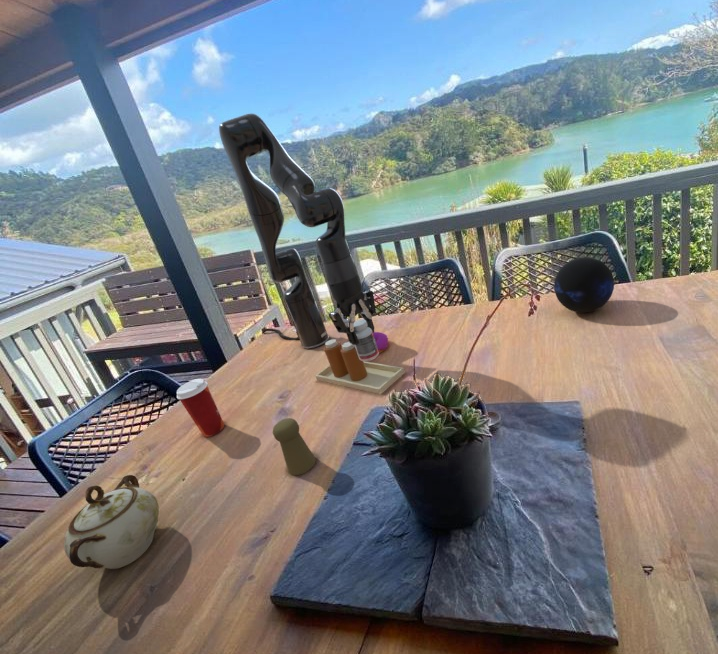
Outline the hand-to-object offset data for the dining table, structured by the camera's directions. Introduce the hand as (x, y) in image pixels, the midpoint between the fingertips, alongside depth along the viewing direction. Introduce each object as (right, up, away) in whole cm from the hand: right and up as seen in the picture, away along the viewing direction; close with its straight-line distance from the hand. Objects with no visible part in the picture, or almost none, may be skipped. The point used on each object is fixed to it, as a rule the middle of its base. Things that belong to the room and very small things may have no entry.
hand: (363, 338), depth 110 cm
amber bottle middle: (-2, -11, +9) cm, 14 cm away
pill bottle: (+1, -5, +2) cm, 6 cm away
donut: (+1, -4, +23) cm, 24 cm away
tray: (-2, -11, +10) cm, 15 cm away
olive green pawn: (-11, -26, -18) cm, 34 cm away
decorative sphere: (+61, +7, +11) cm, 63 cm away
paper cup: (-40, -25, +5) cm, 47 cm away
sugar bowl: (-41, -39, -28) cm, 63 cm away
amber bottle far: (-7, -10, +14) cm, 19 cm away
